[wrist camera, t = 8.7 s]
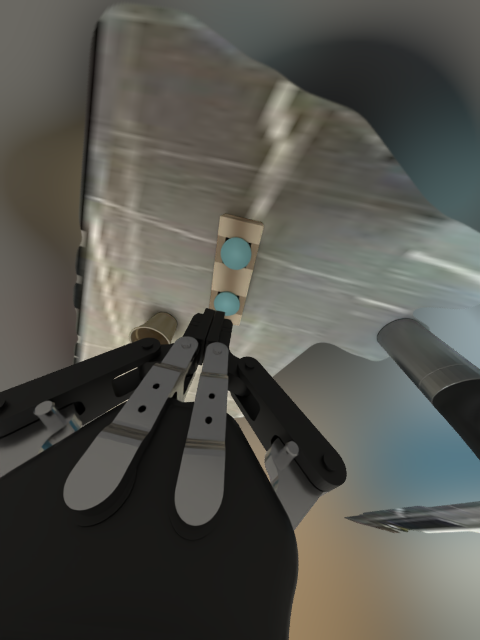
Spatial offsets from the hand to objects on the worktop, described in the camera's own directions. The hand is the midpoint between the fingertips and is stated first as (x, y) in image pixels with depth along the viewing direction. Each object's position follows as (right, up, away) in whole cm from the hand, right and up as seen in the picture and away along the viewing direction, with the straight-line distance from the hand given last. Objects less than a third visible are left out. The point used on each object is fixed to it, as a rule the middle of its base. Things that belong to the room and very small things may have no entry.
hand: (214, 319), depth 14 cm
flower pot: (-18, 0, +34) cm, 38 cm away
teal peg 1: (+2, +15, +22) cm, 27 cm away
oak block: (+1, +11, +25) cm, 27 cm away
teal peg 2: (0, +7, +28) cm, 28 cm away
